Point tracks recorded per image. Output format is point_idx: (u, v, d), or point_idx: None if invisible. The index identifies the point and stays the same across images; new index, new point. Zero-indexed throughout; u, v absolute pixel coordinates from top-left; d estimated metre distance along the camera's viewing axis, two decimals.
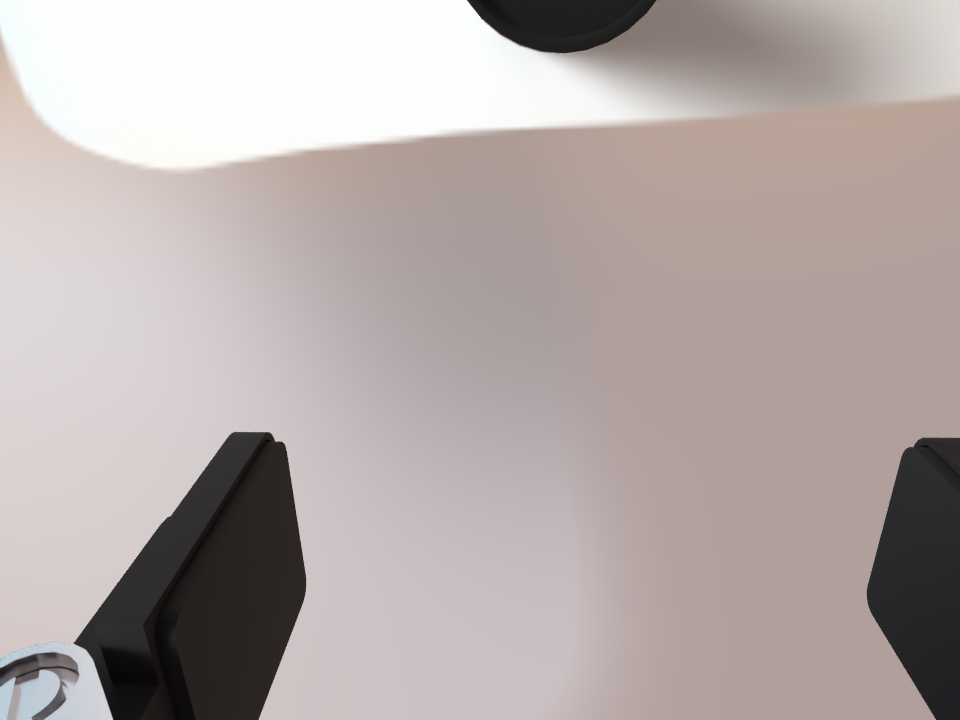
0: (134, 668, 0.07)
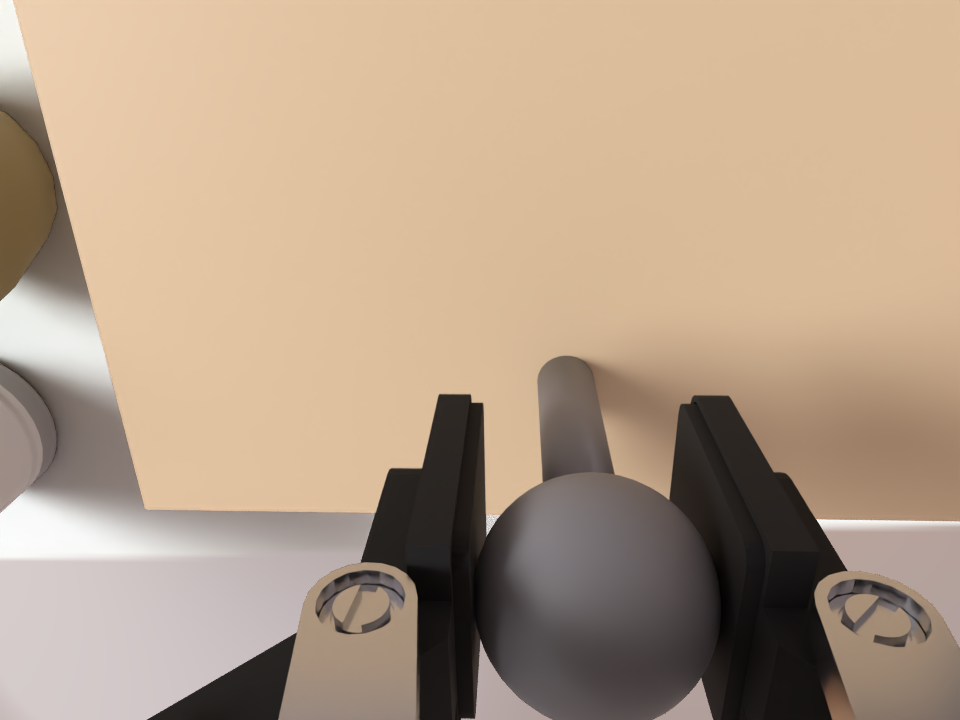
0: (432, 586, 0.08)
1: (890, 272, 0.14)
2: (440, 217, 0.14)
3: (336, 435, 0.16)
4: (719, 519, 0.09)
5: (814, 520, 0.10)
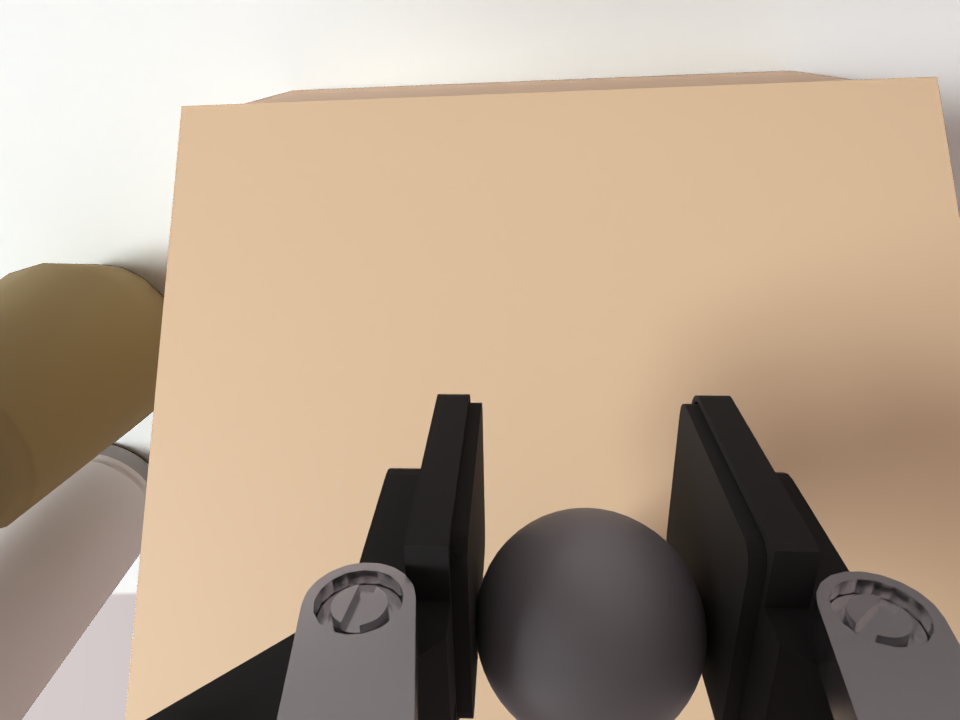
0: (431, 586, 0.08)
1: (831, 473, 0.16)
2: None
3: None
4: (720, 519, 0.09)
5: (815, 520, 0.10)
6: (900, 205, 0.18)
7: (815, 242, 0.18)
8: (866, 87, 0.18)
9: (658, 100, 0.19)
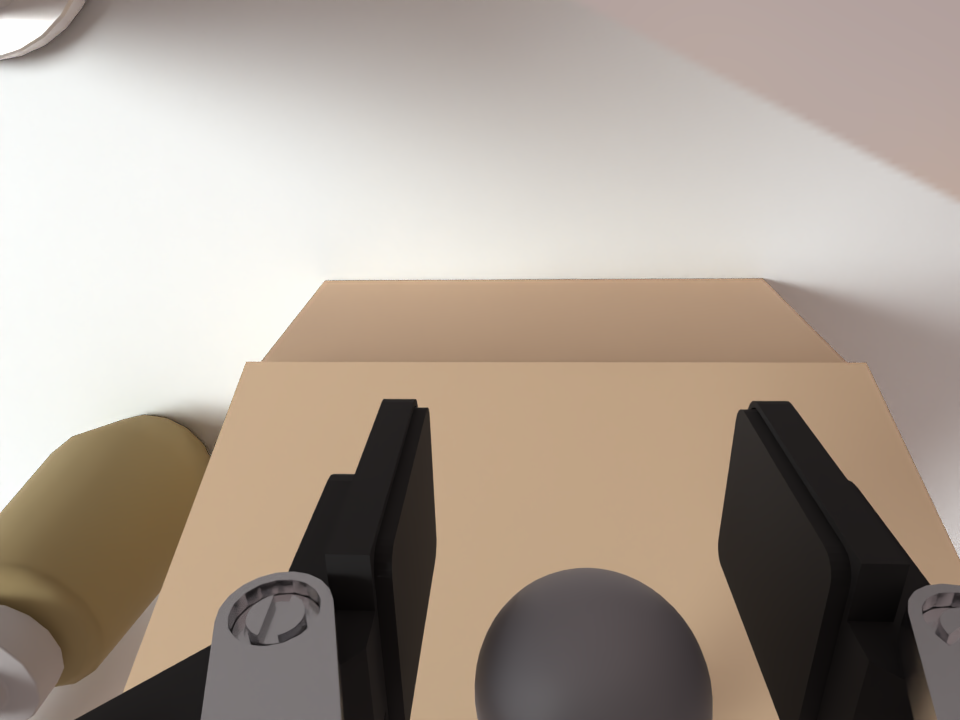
0: (354, 596, 0.08)
1: None
2: (453, 631, 0.17)
3: None
4: (793, 529, 0.09)
5: (887, 529, 0.09)
6: (859, 451, 0.20)
7: None
8: (810, 368, 0.23)
9: (640, 370, 0.23)
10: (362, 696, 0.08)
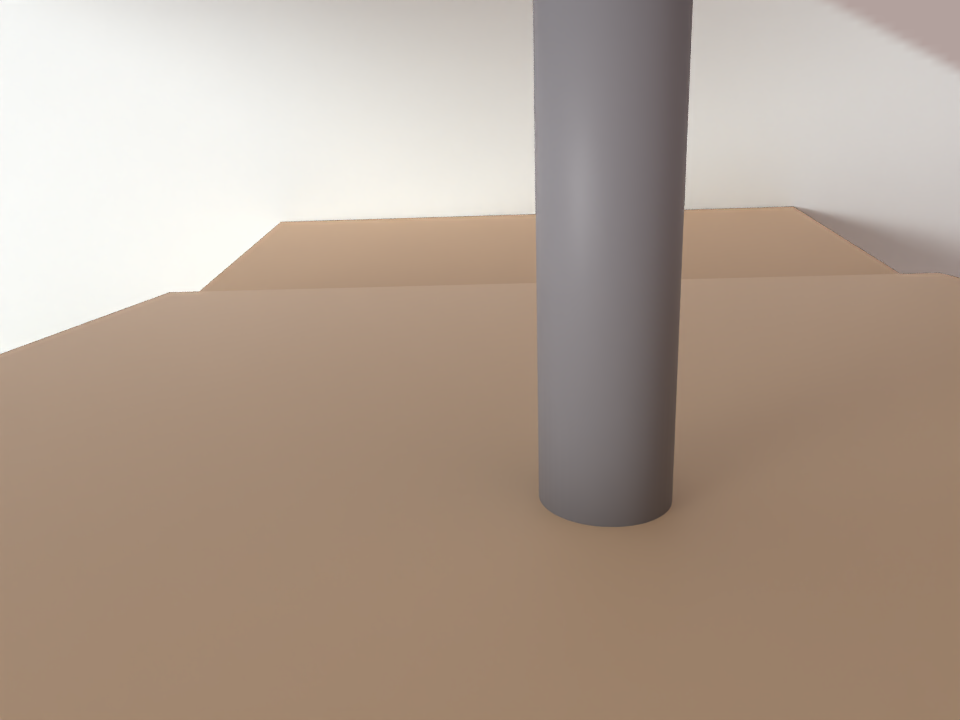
0: None
1: None
2: (393, 386, 0.10)
3: None
4: None
5: None
6: None
7: (884, 309, 0.14)
8: (871, 275, 0.18)
9: None
10: None
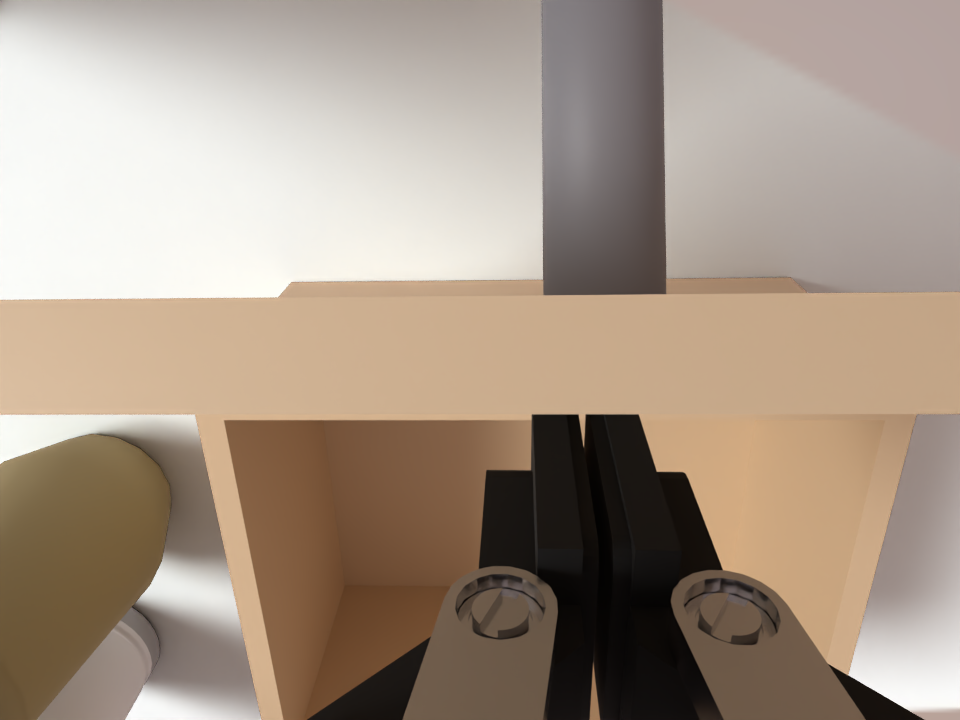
0: (562, 590, 0.08)
1: None
2: None
3: None
4: (602, 518, 0.09)
5: (701, 519, 0.10)
6: None
7: None
8: None
9: None
10: (575, 690, 0.08)
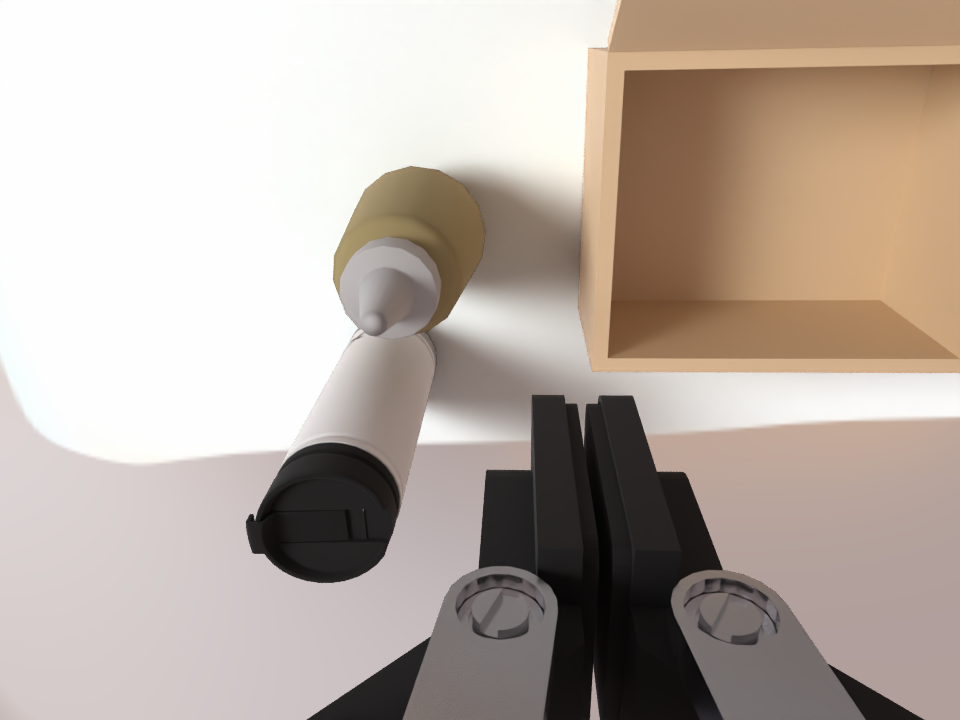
0: (562, 590, 0.08)
1: None
2: None
3: None
4: (602, 518, 0.09)
5: (701, 519, 0.10)
6: None
7: None
8: None
9: None
10: (575, 690, 0.08)
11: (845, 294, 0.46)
